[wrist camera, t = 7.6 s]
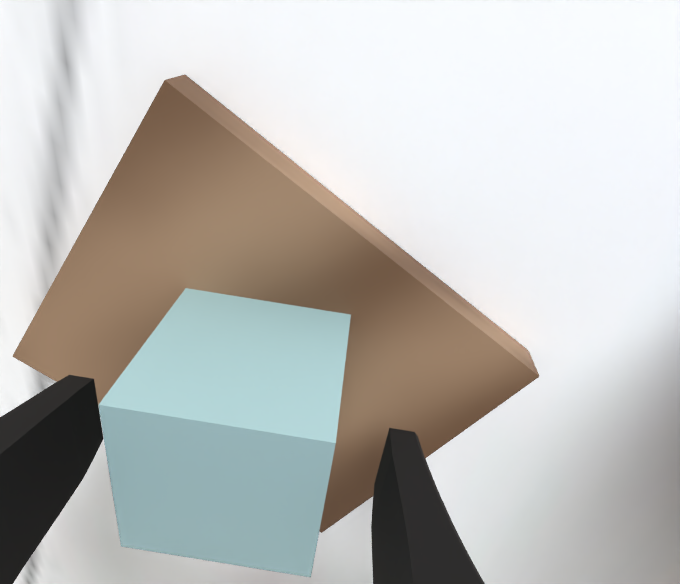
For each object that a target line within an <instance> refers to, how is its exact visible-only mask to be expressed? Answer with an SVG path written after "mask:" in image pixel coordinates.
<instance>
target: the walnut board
mask: <svg viewBox="0 0 680 584" xmlns="http://www.w3.org/2000/svg"><path fill="white" fill-rule="evenodd" d="M185 288H188V289H195V290H201V291H207V292H213V293H219V294H226V295H232V296H238V297H244V298H251V299H257V300H263V301H269V302H276V303H282V304H288V305H294V306H300V307H307V308H313V309H319V310H325V311H332V312H338V313H344V314H350V315H351V319H350V327H349V335H348V344H347V352H346V361H345V369H344V378H343V386H342V395H341V403H340V411H339V420H338V428H337V437H336V444H335V450H334V455H333V460H332V466H331V471H330V477H329V482H328V487H327V493H326V498H325V503H324V509H323V514H322V519H321V525H320V530H319V531H320V532H323V531H325V530H326V529H327V528H329V527H330V526H332V525H333V524H334V523H336V522H337V521H339V520H340V519H341V518H343V517H344V516H346V515H347V514H348V513H350V512H351V511H353V510H354V509H355V508H357V507H358V506H360V505H361V504H362V503H364V502H365V501H366V500H368V499H369V498H371V497H372V496H373V495H374V483H375V479H376V476H377V472H378V468H379V464H380V461H381V457H382V453H383V450H384V446H385V442H386V438H387V435H388V431H389V428H394V429H400V430H406V431H412V432H415V433H416V434H417V436H418V438H419V442H420V445H421V448H422V451H423V454H424V456H425V458H426V457H428V456H429V455H431V454H432V453H433V452H435V451H436V450H438V449H439V448H440V447H442V446H443V445H444V444H446V443H447V442H449V441H450V440H451V439H453V438H454V437H456V436H457V435H458V434H460V433H461V432H463V431H464V430H465V429H467V428H468V427H470V426H471V425H472V424H474V423H475V422H477V421H478V420H479V419H481V418H482V417H484V416H485V415H486V414H488V413H489V412H490V411H492V410H493V409H495V408H496V407H497V406H499V405H500V404H502V403H503V402H504V401H506V400H507V399H509V398H510V397H511V396H513V395H514V394H516V393H517V392H518V391H520V390H521V389H523V388H524V387H525V386H527V385H528V384H529V383H531V382H532V381H534V380H535V379H536V378H538V377H539V374H538V372H537V369H536V367H535V365H534V362H533V360H532V358H531V355H530V353H529V351H528V350H527V349H526V348H525V347H523V346H522V345H521V344H520V343H518V342H517V341H516V340H515V339H513V338H512V337H511V336H510V335H508V334H507V333H506V332H505V331H503V330H502V329H501V328H500V327H498V326H497V325H496V324H495V323H493V322H492V321H491V320H490V319H489V318H487V317H486V316H485V315H484V314H482V313H481V312H480V311H479V310H477V309H476V308H475V307H474V306H472V305H471V304H470V303H469V302H467V301H466V300H465V299H464V298H462V297H461V296H460V295H459V294H457V293H456V292H455V291H454V290H452V289H451V288H450V287H449V286H447V285H446V284H445V283H444V282H442V281H441V280H440V279H439V278H438V277H436V276H435V275H434V274H433V273H431V272H430V271H429V270H428V269H426V268H425V267H424V266H423V265H421V264H420V263H419V262H418V261H416V260H415V259H414V258H413V257H411V256H410V255H409V254H408V253H406V252H405V251H404V250H403V249H401V248H400V247H399V246H398V245H396V244H395V243H394V242H393V241H391V240H390V239H389V238H388V237H386V236H385V235H384V234H383V233H382V232H380V231H379V230H378V229H377V228H375V227H374V226H373V225H372V224H370V223H369V222H368V221H367V220H365V219H364V218H363V217H362V216H360V215H359V214H358V213H357V212H355V211H354V210H353V209H352V208H350V207H349V206H348V205H347V204H345V203H344V202H343V201H342V200H340V199H339V198H338V197H337V196H335V195H334V194H333V193H332V192H331V191H329V190H328V189H327V188H326V187H324V186H323V185H322V184H321V183H319V182H318V181H317V180H316V179H314V178H313V177H312V176H311V175H309V174H308V173H307V172H306V171H304V170H303V169H302V168H301V167H299V166H298V165H297V164H296V163H294V162H293V161H292V160H291V159H289V158H288V157H287V156H286V155H284V154H283V153H282V152H281V151H280V150H278V149H277V148H276V147H275V146H273V145H272V144H271V143H270V142H268V141H267V140H266V139H265V138H263V137H262V136H261V135H260V134H258V133H257V132H256V131H255V130H253V129H252V128H251V127H250V126H248V125H247V124H246V123H245V122H243V121H242V120H241V119H240V118H238V117H237V116H236V115H235V114H233V113H232V112H231V111H230V110H228V109H227V108H226V107H225V106H224V105H222V104H221V103H220V102H219V101H217V100H216V99H215V98H214V97H212V96H211V95H210V94H209V93H207V92H206V91H205V90H204V89H202V88H201V87H200V86H199V85H197V84H196V83H195V82H194V81H192V80H191V79H190V78H189V77H187V76H186V75H182V76H178V77H174V78H171V79H167V80H165V81H164V82H163V84H162V86H161V88H160V90H159V91H158V93H157V95H156V97H155V99H154V101H153V102H152V104H151V106H150V108H149V110H148V111H147V113H146V115H145V117H144V119H143V120H142V122H141V124H140V126H139V128H138V130H137V131H136V133H135V135H134V137H133V139H132V140H131V142H130V144H129V146H128V148H127V149H126V151H125V153H124V155H123V157H122V159H121V160H120V162H119V164H118V166H117V168H116V169H115V171H114V173H113V175H112V177H111V178H110V180H109V182H108V184H107V186H106V188H105V189H104V191H103V193H102V195H101V197H100V198H99V200H98V202H97V204H96V206H95V208H94V209H93V211H92V213H91V215H90V217H89V218H88V220H87V222H86V224H85V226H84V227H83V229H82V231H81V233H80V235H79V237H78V238H77V240H76V242H75V244H74V246H73V247H72V249H71V251H70V253H69V255H68V256H67V258H66V260H65V262H64V264H63V266H62V267H61V269H60V271H59V273H58V275H57V276H56V278H55V280H54V282H53V284H52V285H51V287H50V289H49V291H48V293H47V295H46V296H45V298H44V300H43V302H42V304H41V305H40V307H39V309H38V311H37V313H36V315H35V316H34V318H33V320H32V322H31V324H30V325H29V327H28V329H27V331H26V333H25V334H24V336H23V338H22V340H21V342H20V344H19V345H18V347H17V349H16V351H15V353H14V354H13V357H14V358H16V359H18V360H20V361H21V362H23V363H25V364H27V365H28V366H30V367H32V368H34V369H35V370H37V371H39V372H41V373H42V374H44V375H46V376H48V377H49V378H51V379H53V380H55V381H57V382H58V381H59V380H61V379H63V378H64V377H66V376H68V375H74V376H80V377H86V378H92V379H94V382H95V388H96V395H97V401H98V405H99V403H100V402H101V401H102V399H103V398H104V397H105V395H106V394H107V393H108V391H109V390H110V389H111V387H112V386H113V385H114V383H115V382H116V381H117V379H118V378H119V377H120V375H121V374H122V373H123V371H124V370H125V369H126V367H127V366H128V365H129V363H130V362H131V361H132V359H133V358H134V357H135V355H136V354H137V353H138V351H139V350H140V349H141V347H142V346H143V345H144V343H145V342H146V341H147V339H148V338H149V337H150V335H151V334H152V333H153V331H154V330H155V329H156V327H157V326H158V325H159V323H160V322H161V321H162V319H163V318H164V317H165V315H166V314H167V313H168V311H169V310H170V308H171V307H172V306H173V304H174V303H175V302H176V300H177V299H178V298H179V296H180V295H181V294H182V292H183V291H184V290H185Z"/></svg>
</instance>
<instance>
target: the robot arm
mask: <svg viewBox="0 0 680 584" xmlns="http://www.w3.org/2000/svg"><path fill="white" fill-rule="evenodd" d="M102 440H103V434H102V427H101V421H100V414H99V408H98V401H97V395H96V388H95V382H94V379H92V378H86V377H80V376H74V375H68V376H66V377H64V378H63V379H61V380H59V381H58V382H56V383H55V384H53V385H51V386H50V387H48V388H47V389H45V390H43V391H42V392H40V393H39V394H37V395H35V396H34V397H32V398H31V399H29V400H27V401H26V402H24V403H23V404H21V405H20V406H18V407H16V408H15V409H13V410H11V411H10V412H8V413H7V414H5V415H3V416H2V417H0V584H13V583H14V581H15V580H16V578H17V576H18V575H19V573H20V572H21V570H22V568H23V567H24V565H25V564H26V563H27V561H28V560H29V558H30V557H31V555H32V554H33V552H34V551H35V549H36V548H37V546H38V545H39V543H40V542H41V540H42V539H43V537H44V536H45V535H46V533H47V532H48V530H49V529H50V527H51V526H52V524H53V523H54V521H55V520H56V518H57V517H58V515H59V514H60V512H61V511H62V509H63V508H64V506H65V505H66V503H67V502H68V500H69V499H70V497H71V496H72V494H73V493H74V491H75V490H76V488H77V487H78V485H79V484H80V482H81V481H82V479H83V478H84V476H85V474H86V472H87V470H88V468H89V466H90V464H91V462H92V461H93V459H94V457H95V455H96V452H97V450H98V448H99V446H100V444H101V442H102ZM371 528H372V560H373V584H484V582H483V580H482V578H481V577H480V575H479V573H478V571H477V569H476V568H475V566H474V564H473V562H472V560H471V558H470V557H469V555H468V553H467V551H466V549H465V547H464V545H463V543H462V541H461V539H460V537H459V535H458V533H457V531H456V529H455V527H454V525H453V523H452V521H451V519H450V516H449V514H448V512H447V510H446V508H445V505H444V503H443V501H442V499H441V497H440V494H439V492H438V490H437V487H436V485H435V482H434V480H433V477H432V475H431V472H430V470H429V467H428V465H427V462H426V459H425V456H424V454H423V451H422V448H421V445H420V442H419V438H418V436H417V434H416V433H415V432H412V431H406V430H400V429H394V428H389V431H388V435H387V438H386V442H385V446H384V450H383V453H382V457H381V461H380V464H379V468H378V472H377V476H376V479H375V483H374V495H373V509H372V526H371Z"/></svg>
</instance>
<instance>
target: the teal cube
mask: <svg viewBox="0 0 680 584" xmlns="http://www.w3.org/2000/svg"><path fill="white" fill-rule="evenodd" d="M350 319H351V315H350V314H344V313H338V312H332V311H325V310H319V309H313V308H307V307H300V306H294V305H288V304H282V303H276V302H269V301H263V300H257V299H251V298H244V297H238V296H232V295H226V294H219V293H213V292H207V291H201V290H195V289H188V288H185V290H184V291H183V292H182V294H181V295H180V296H179V298H178V299H177V300H176V302H175V303H174V304H173V306H172V307H171V308H170V310H169V311H168V313H167V314H166V315H165V317H164V318H163V319H162V321H161V322H160V323H159V325H158V326H157V327H156V329H155V330H154V331H153V333H152V334H151V335H150V337H149V338H148V339H147V341H146V342H145V343H144V345H143V346H142V347H141V349H140V350H139V351H138V353H137V354H136V355H135V357H134V358H133V359H132V361H131V362H130V363H129V365H128V366H127V367H126V369H125V370H124V371H123V373H122V374H121V375H120V377H119V378H118V379H117V381H116V382H115V383H114V385H113V386H112V387H111V389H110V390H109V391H108V393H107V394H106V395H105V397H104V398H103V399H102V401H101V402H100V403H99V410H100V417H101V423H102V429H103V436H104V442H105V448H106V454H107V461H108V467H109V473H110V479H111V486H112V492H113V498H114V505H115V511H116V517H117V523H118V530H119V536H120V542H121V546H122V547H128V548H134V549H140V550H147V551H153V552H159V553H165V554H171V555H177V556H183V557H189V558H196V559H202V560H208V561H214V562H220V563H226V564H232V565H238V566H245V567H251V568H257V569H263V570H269V571H275V572H281V573H287V574H294V575H300V576H306V577H311V573H312V567H313V562H314V557H315V551H316V546H317V541H318V535H319V530H320V525H321V519H322V514H323V509H324V503H325V498H326V493H327V487H328V482H329V477H330V471H331V466H332V460H333V455H334V450H335V444H336V437H337V428H338V420H339V411H340V403H341V395H342V386H343V378H344V369H345V361H346V352H347V344H348V335H349V327H350Z"/></svg>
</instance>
